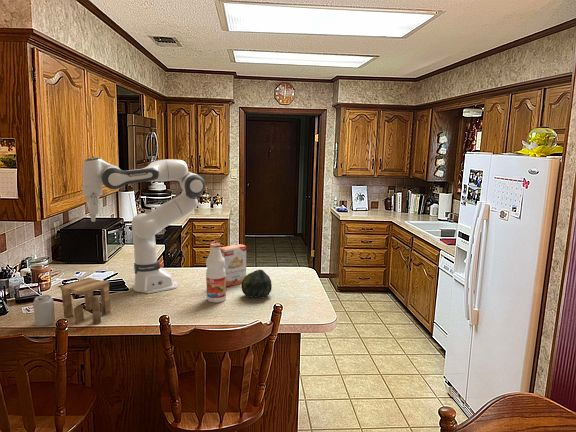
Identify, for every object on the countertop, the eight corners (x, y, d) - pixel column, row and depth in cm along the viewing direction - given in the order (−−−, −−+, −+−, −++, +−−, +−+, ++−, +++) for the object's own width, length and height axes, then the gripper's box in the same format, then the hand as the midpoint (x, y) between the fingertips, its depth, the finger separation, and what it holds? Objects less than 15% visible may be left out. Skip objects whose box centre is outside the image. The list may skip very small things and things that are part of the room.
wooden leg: (97, 314, 196) (95, 289, 194) (104, 314, 197) (103, 289, 195) (92, 324, 186) (90, 298, 184) (100, 323, 187) (98, 297, 185)
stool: (111, 312, 199) (109, 282, 196) (81, 325, 185) (78, 293, 183) (90, 307, 205) (88, 277, 203) (59, 319, 192) (57, 287, 189)
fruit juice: (229, 297, 218) (228, 243, 213) (219, 304, 210) (218, 247, 205) (213, 295, 222) (212, 241, 217) (203, 301, 214) (201, 245, 209)
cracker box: (225, 287, 233) (224, 249, 229) (219, 284, 237) (218, 247, 234) (247, 282, 242) (246, 245, 238) (240, 279, 246) (240, 243, 243)
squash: (237, 281, 226) (243, 265, 215) (265, 279, 232) (271, 263, 221) (242, 306, 218) (248, 291, 207) (270, 303, 224) (278, 288, 213)
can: (32, 324, 187) (29, 297, 184) (50, 318, 192) (48, 292, 190) (40, 329, 182) (37, 301, 180) (58, 323, 188) (56, 296, 186)
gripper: (101, 195, 205) (101, 224, 208) (97, 187, 222) (97, 213, 225) (87, 195, 202) (87, 224, 205) (83, 187, 219) (83, 214, 222)
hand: (92, 218), depth 215 cm, fingers open, 8 cm apart
